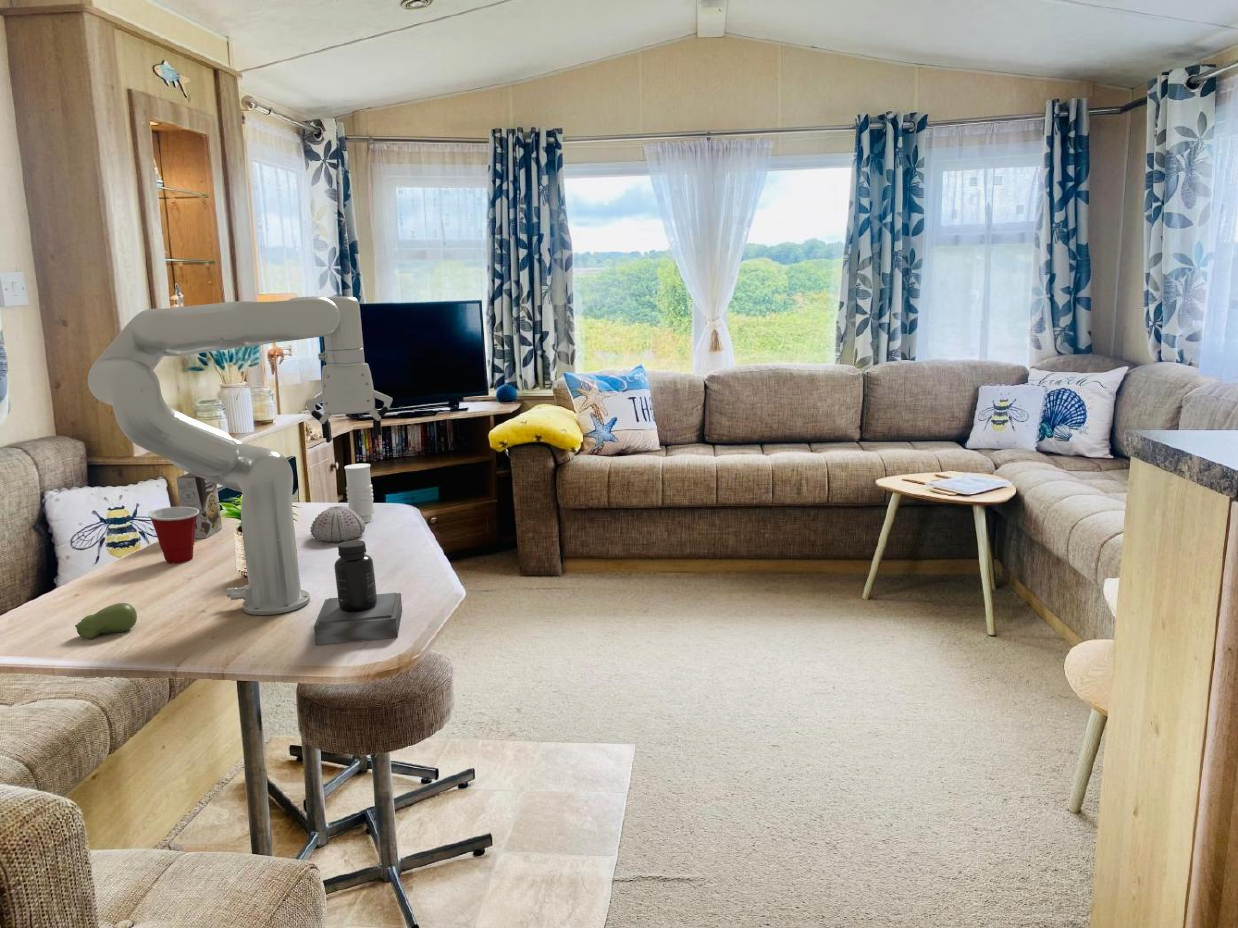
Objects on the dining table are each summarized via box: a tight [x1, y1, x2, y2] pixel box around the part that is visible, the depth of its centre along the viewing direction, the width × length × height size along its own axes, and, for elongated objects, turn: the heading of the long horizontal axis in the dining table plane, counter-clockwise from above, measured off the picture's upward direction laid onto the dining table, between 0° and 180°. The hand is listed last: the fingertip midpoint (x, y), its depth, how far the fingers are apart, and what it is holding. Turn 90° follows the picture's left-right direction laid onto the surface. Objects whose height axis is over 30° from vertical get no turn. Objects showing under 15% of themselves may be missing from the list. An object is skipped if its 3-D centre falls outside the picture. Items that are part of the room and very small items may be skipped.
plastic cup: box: [148, 506, 199, 565], centre depth 213 cm, size 11×11×12 cm
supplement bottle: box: [334, 539, 377, 612], centre depth 166 cm, size 7×7×12 cm
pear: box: [74, 602, 138, 641], centre depth 169 cm, size 6×5×10 cm
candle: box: [344, 463, 375, 523], centre depth 244 cm, size 7×7×15 cm
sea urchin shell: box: [309, 505, 366, 543], centre depth 229 cm, size 13×14×8 cm
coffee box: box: [176, 472, 223, 539], centre depth 236 cm, size 9×6×16 cm
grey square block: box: [313, 592, 403, 646], centre depth 167 cm, size 14×14×4 cm
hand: (353, 440), depth 189 cm, fingers open, 9 cm apart
